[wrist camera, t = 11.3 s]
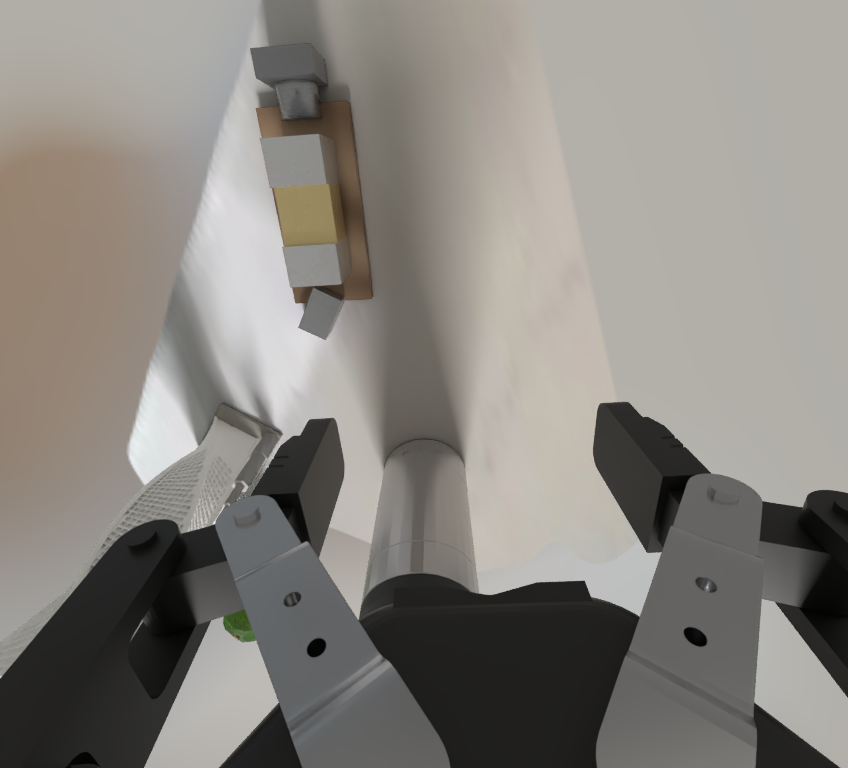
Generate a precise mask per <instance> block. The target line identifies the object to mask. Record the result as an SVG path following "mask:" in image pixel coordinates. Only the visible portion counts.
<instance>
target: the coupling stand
mask: <svg viewBox="0 0 848 768" xmlns="http://www.w3.org/2000/svg"><path fill="white" fill-rule="evenodd" d="M250 50H251V55H252V60H253V65H254V70H255V75H256V78H257V79H259V80H260V81H262V82H264V83H265V84H267V85H269V86H270V87H272V88H274V89H275V90H276V93H277V99H278V104H279V106H277V107H265V108H256V112H257V117H258V122H259V127H260V131H261V136H262V138H272V137H285V136H298V135H310V134H320V135H323V136H325V137H327V138H329V139H332V140H334V141H335V146H336V153H337V161H338V168H339V175H340V182H341V184H339V188H340V195H341V202H342V209H343V217H344V224H345V231H346V236H348V241H349V248H350V255H351V262H352V270H353V272H352V273H351V274H350V276H349V277H348V278H347V279H346V280H345V281H344V282H343V283H342V284H339V285H323V286H306V287H292V288H293V293H294V298H295V303H307V306H306V309H305V311H304V314H303V317H302V319H301V322H300V325H299V327H298V328H300V329H302V330H305V331H307V332H309V333H311V334H313V335H316V336H318V337H320V338H322V339H325V340H326V339H327V337H328V336H329V334H330V333H331V331H332V329H333V327H334V324H335V322H336V320H337V317H338V315H339V312H340V310H341V307H342V305H343V303H344V300H361V299H372V297H373V292H372V284H371V276H370V267H369V259H368V251H367V242H366V234H365V226H364V217H363V209H362V200H361V192H360V184H359V175H358V167H357V159H356V150H355V142H354V134H353V125H352V117H351V109H350V103H349V102H348V101H338V102H326V103H320V99H319V92H318V87H319V86H328V82H327V75H326V67H325V60H324V59H323V57H322V56H321V55H320V54H319V53H318V52H317V50H316V49H315V48H314V47H313V46H312V45H311V44H310V43H305V44H294V45H282V46H271V47H260V48H250ZM272 190H273V195H274V200H275V205H276V210H277V215H278V220H279V225H280V230H281V235H282V239H283V244H284V246H285V242H284V237H283V232H282V227H281V222H280V217H279V212H278V207H277V202H276V197H275V192H274V188H272Z"/></svg>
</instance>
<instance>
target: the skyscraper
mask: <svg viewBox="0 0 848 768" xmlns="http://www.w3.org/2000/svg"><path fill="white" fill-rule="evenodd" d="M281 436H282V434H281V433H279V432H277V431H275V430H273V429H271V428H269V427H267V426H265V425H264V424H262V423H260V422H258V421H256V420H254V419H252V418H250V417H248V416H246V415H244V414H242V413H240V412H239V411H237V410H235V409H233V408H231V407H229V406H227V405H225V404H223V403H222V404H221V405H220V407H219V409H218V411H217V413H216V415H215V417H214V419H213V421H212V423H211V425H210V427H209V429H208V431H207V433H206V435H205V437H204V439H203V441H202V443H201V444H200V445H199V447H198V448H197V449H196V450H194V451H193V452H191V453H190V454H188V455H186V456H185V457H183V458H181V459H180V460H178V461H177V462H175V463H174V464H172V465H171V466H170V467H168V468H167V469H165V470H164V471H163V472H161V473H160V474H159V475H157V476H156V477H155V478H154V479H152V480H151V481H150V482H149V483H148V484H146V485H145V486H144V487H143V488H142V489H141V490H140V491H139V492H138V493H137V494H136V495H135V496H134V497H133V498H132V499H131V500H130V501H129V502H128V503H127V504H126V505H125V506H124V507H123V509H122V510H121V511H120V512H119V513H118V515H117V516H116V517H115V518H114V520H113V521H112V522H111V524H110V525H109V526H108V528H107V529H106V530H105V532H104V533H103V535H102V536H101V538H100V539H99V541H98V542H97V544H96V546H95V547H94V549H93V550H92V552H91V554H90V555H89V557H88V559H87V561H86V563H85V564H84V566H83V568H82V570H81V572H80V573H79V575H78V577H77V579H76V580H75V582H74V583H73V584H72V585H71V586H70V587H69V589H68V590H67V591H66V592H65V593H64V594H62V595H61V596H60V597H58V598H57V599H56V600H55V601H53V602H52V603H51V604H49V605H48V606H47V607H45V608H44V609H43V610H42V611H40V612H39V613H38V614H37V615H35V616H34V617H33V618H31V619H30V620H29V621H27V622H26V623H25V624H24V625H22V626H21V627H20V628H18V629H17V630H16V631H14V632H13V633H12V634H11V635H9V636H8V637H7V638H5V639H4V640H3V641H2V642H0V678H1V677H2V676H3V675H4V673H5V672H6V671H7V670H8V669H9V667H10V666H11V665H12V664H13V663H14V661H15V660H16V659H17V658H18V657H19V655H20V654H21V653H22V652H23V651H24V650H25V648H26V647H27V646H28V645H29V644H30V642H31V641H32V640H33V639H34V638H35V636H36V635H37V634H38V633H39V632H40V630H41V629H42V628H43V627H44V626H45V624H46V623H47V622H48V621H49V620H50V619H51V617H52V616H53V615H54V614H55V613H56V611H57V610H58V609H59V608H60V607H61V605H62V604H63V603H64V602H65V601H66V599H67V598H68V597H69V596H70V595H71V593H72V592H73V591H74V590H75V589H76V587H77V586H78V585H79V584H80V583H81V582H82V580H83V579H84V578H85V577H86V576H87V574H88V573H89V572H90V571H91V570H92V568H93V567H94V566H95V565H96V564H97V562H98V561H99V560H100V559H101V558H102V556H103V555H104V554H105V553H106V552H107V551H108V549H109V548H110V547H111V546H112V545H113V543H114V542H115V541H116V540H117V539H118V538H120V537H121V536H122V535H123V534H125V533H126V532H128V531H129V530H131V529H133V528H135V527H137V526H139V525H141V524H144V523H146V522H149V521H153V520H159V519H168V520H172V521H174V522H176V524H177V525H178V527H179V530H180V532H181V534H182V533H185V532H189V531H193V530H197V529H200V528H204V527H208V526H211V525H212V524H213V522H214V521H215V519H216V518H217V516H218V514H219V513H220V511H221V509H222V508H223V507H224V509H225V508H227V507H228V506H229V505H231V504H232V503H234V502H236V500H237V498H238V497H239V495H240V493H241V492H246V491H247V489H248V487H249V486H250V484H251V482H252V481H253V479H254V478H255V479H256V478H257V476H258V474H259V473H260V471H261V469H262V468H263V466H264V464H265V463H266V461H267V459H268V458H269V456H270V454H271V453H272V451H273V449H274V448H275V446H276V444H277V443H278V441H279V439H280V438H281ZM232 490H233V491H232ZM224 509H223V510H224ZM142 622H143V620H142V621H141V623H140V624H139V626H138V628H139V627H140V625H141V624H142ZM138 628H137V629H136V631H135V633H136V632H137V630H138ZM135 633H134V634H133V636H132V638H133V637H134V635H135ZM132 638H131V640H132Z"/></svg>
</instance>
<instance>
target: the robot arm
mask: <svg viewBox="0 0 848 768" xmlns="http://www.w3.org/2000/svg"><path fill="white" fill-rule="evenodd" d="M593 456H594V461H595V465H596V467H597V469H598V471H599V472H600V474H601V476H602V478H603V479H604V481H605V483H606V484H607V486H608V488H609V489H610V491H611V493H612V494H613V496H614V498H615V499H616V501H617V503H618V504H619V506H620V508H621V510H622V511H623V513H624V515H625V516H626V518H627V520H628V521H629V523H630V525H631V526H632V528H633V530H634V531H635V533H636V535H637V537H638V538H639V540H640V542H641V543H642V545H643V547H644V548H645V550H646V552H647V553H652V552H653V553H654V552H662V553H661V556H660V559H659V562H658V565H657V568H656V571H655V574H654V577H653V580H652V583H651V586H650V589H649V592H648V595H647V598H646V601H645V603H644V606H643V610H642V613H641V615H640V617H639V616H638V615H636V614H634V613H632V612H630V611H628V610H626V609H624V608H623V607H620V606H617V605H615V604H613V603H610V602H607V601H604V600H601V599H597V598H592V597H591V596H590V594H589V591H588V588H587V586H586V583H585V581H566V582H540V583H534V584H530V585H527V586H523V587H519V588H516V589H512V590H509V591H506V592H502V593H498V594H494V595H484V594H479V589H478V580H477V573H476V564H475V555H474V546H473V537H472V528H471V520H470V511H469V502H468V492H467V483H466V474H465V467H464V464H463V461H462V459H461V458H460V456H459V455H458V454H457V452H456V451H455V450H454V449H452V448H451V447H449V446H448V445H446V444H443V443H441V442H438V441H434V440H424V439H421V440H414V441H410V442H407V443H405V444H403V445H401V446H399V447H398V448H396V449H395V450H394V451H393V452H392V453H391V454H390V456H389V457H388V459H387V461H386V464H385V468H384V474H383V480H382V486H381V491H380V496H379V502H378V508H377V514H376V520H375V526H374V532H373V538H372V544H371V550H370V556H369V562H368V568H367V573H366V581H365V587H364V592H363V599H362V604H361V611H360V617H359V620H358V619H357V618H356V616H355V615H354V613H353V612H352V610H351V608H350V607H349V605H348V604H347V602H346V600H345V599H344V597H343V596H342V594H341V593H340V591H339V589H338V588H337V586H336V585H335V583H334V582H333V580H332V579H331V577H330V575H329V574H328V572H327V571H326V569H325V568H324V566H323V564H322V563H321V562H320V560H319V555H320V552H321V549H322V546H323V543H324V539H325V536H326V533H327V530H328V527H329V524H330V520H331V517H332V514H333V511H334V508H335V505H336V501H337V498H338V495H339V492H340V489H341V485H342V482H343V478H344V459H343V453H342V448H341V443H340V438H339V433H338V427H337V423H336V420H335V419H334V418H326V419H310V420H309V421H308V422H307V424H306V426H305V428H304V430H303V432H302V433H301V435H300V436H292V437H291V438H290V439H289V440H287V441H286V442H285V443H284V444H282V445H281V446H280V448H279V450H278V451H277V453H276V454H275V456H274V459H272V461H271V463H270V464H269V468H267V469H266V471H265V473H264V474H263V476H262V478H261V479H260V481H259V483H258V484H257V486H256V488H255V489H254V491H253V493H252V494H251V496H249V497H246V498H243V499H240V500H238V501H236V502H234V503H232V504H231V505H229V506H228V507H227V508H225V509H224V510H223V511H222V512H221V513H220V515H219V516H218V518H217V520H216V524H214V525H211V526H208V527H204V528H200V529H197V530H193V531H189V532H185V533H182V534H181V532H180V530H179V527H178V525H177V524H176V522H174V521H172V520H168V519H159V520H153V521H149V522H146V523H144V524H141V525H139V526H137V527H135V528H133V529H131V530H129V531H128V532H126V533H125V534H123V535H122V536H121V537H120V538H118V539H117V540H116V541H115V542H114V543H113V545H112V546H111V547H110V548H109V549H108V551H107V552H106V553H105V554H104V555H103V556H102V558H101V559H100V560H99V561H98V562H97V564H96V565H95V566H94V567H93V568H92V570H91V571H90V572H89V573H88V574H87V576H86V577H85V578H84V579H83V580H82V582H81V583H80V584H79V585H78V586H77V587H76V589H75V590H74V591H73V592H72V593H71V595H70V596H69V597H68V598H67V599H66V601H65V602H64V603H63V604H62V605H61V607H60V608H59V609H58V610H57V611H56V613H55V614H54V615H53V616H52V617H51V619H50V620H49V621H48V622H47V623H46V624H45V626H44V627H43V628H42V629H41V630H40V632H39V633H38V634H37V635H36V636H35V638H34V639H33V640H32V641H31V642H30V644H29V645H28V646H27V647H26V648H25V650H24V651H23V652H22V653H21V654H20V655H19V657H18V658H17V659H16V660H15V661H14V663H13V664H12V665H11V666H10V667H9V669H8V670H7V671H6V672H5V673H4V675H3V676H2V677H1V678H0V768H144V766H145V764H146V762H147V760H148V758H149V755H150V753H151V751H152V749H153V747H154V744H155V742H156V740H157V738H158V736H159V734H160V731H161V729H162V727H163V725H164V723H165V720H166V718H167V716H168V714H169V712H170V709H171V707H172V705H173V703H174V701H175V698H176V696H177V694H178V692H179V690H180V687H181V685H182V683H183V681H184V679H185V677H186V674H187V672H188V670H189V668H190V666H191V664H192V661H193V659H194V657H195V655H196V653H197V650H198V648H199V646H200V644H201V642H202V639H203V637H204V635H205V633H206V631H207V628H208V626H209V624H210V622H211V620H214V619H216V618H220V617H223V616H226V615H229V614H232V613H235V612H238V611H241V610H244V609H245V611H246V614H247V616H248V619H249V622H250V625H251V627H252V630H253V633H254V636H255V638H256V641H257V644H258V646H259V649H260V652H261V655H262V657H263V660H264V663H265V666H266V668H267V671H268V674H269V677H270V679H271V682H272V685H273V688H274V690H275V693H276V695H277V699H278V701H279V703H278V704H277V705H276V706H275V707H274V709H273V710H272V711H271V712H270V713H269V714H268V715H267V716H266V717H265V718H264V719H263V721H262V722H261V723H260V724H259V725H258V726H257V727H256V728H255V729H254V730H253V732H251V734H250V735H249V736H248V737H247V738H246V739H245V740H244V741H243V742H242V744H240V745H239V747H238V748H237V749H236V750H235V751H234V752H233V753H232V754H231V755H230V757H228V758H227V760H226V761H225V762H224V763H223V764H222V765H221V766H220V767H219V768H839V767H838V766H837V765H836V764H834V763H833V762H832V761H830V760H829V759H828V758H826V757H825V756H824V755H822V754H821V753H820V752H819V751H817V750H816V749H815V748H813V747H812V746H811V745H809V744H808V743H807V742H805V741H804V740H803V739H801V738H800V737H799V736H798V735H796V734H795V733H794V732H792V731H791V730H790V729H788V728H787V727H786V726H784V725H783V724H782V723H780V722H779V721H778V720H776V719H775V718H774V717H773V716H771V715H770V714H769V713H767V712H766V711H765V710H763V709H762V708H761V707H759V706H758V705H757V704H755V703H754V697H755V683H756V669H757V655H758V642H759V628H760V614H761V600H762V599H765V600H770V601H774V602H776V604H777V605H778V607H779V608H780V609H781V611H782V612H783V613H784V615H785V616H786V617H787V618H788V620H789V621H790V622H791V624H792V625H793V626H794V628H795V629H796V630H797V631H798V633H799V634H800V635H801V637H802V638H803V639H804V641H805V642H806V643H807V645H808V646H809V647H810V649H811V650H812V651H813V653H814V654H815V655H816V656H817V658H818V659H819V660H820V662H821V663H822V664H823V666H824V667H825V668H826V669H827V671H828V672H829V673H830V675H831V676H832V678H833V679H834V680H835V681H836V683H837V684H838V685H839V686H840V688H841V689H842V690H843V692H844V693H845V694H846V696H847V697H848V493H844V492H839V491H832V490H819V491H814V492H812V493H810V494H809V495H808V496H807V498H806V501H805V503H804V506H803V508H802V507H795V506H789V505H782V504H776V503H769V502H764V501H762V499H761V497H760V496H759V495H758V493H757V492H756V491H754V490H753V489H752V488H751V487H749V486H747V485H746V484H744V483H742V482H740V481H738V480H735V479H733V478H730V477H727V476H723V475H717V474H711V473H710V472H709V471H708V470H707V468H705V466H704V465H703V464H702V463H701V462H700V461H698V459H697V458H696V457H695V456H693V454H692V453H691V452H690V451H689V450H688V449H687V448H686V447H683V444H682V443H681V442H680V441H679V440H678V439H675V436H674V435H673V434H672V433H671V432H670V431H669V430H668V429H667V428H666V427H665V426H664V425H662V424H660V423H658V422H656V421H654V420H653V419H651V418H649V417H642V416H641V415H640V414H639V413H638V412H637V411H636V410H635V409H634V407H633V406H632V405H631V404H630V403H628V402H614V403H601V404H600V405H599V407H598V410H597V418H596V427H595V436H594V445H593ZM142 620H143V622H142V624H141V625H140V627H139V628H138V626H139V624H140V623H141V621H142ZM137 628H138V630H137V632H136V633H135V631H136V629H137ZM134 633H135V635H134V637H133V638H132V636H133V634H134ZM131 638H132V640H131Z"/></svg>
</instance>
